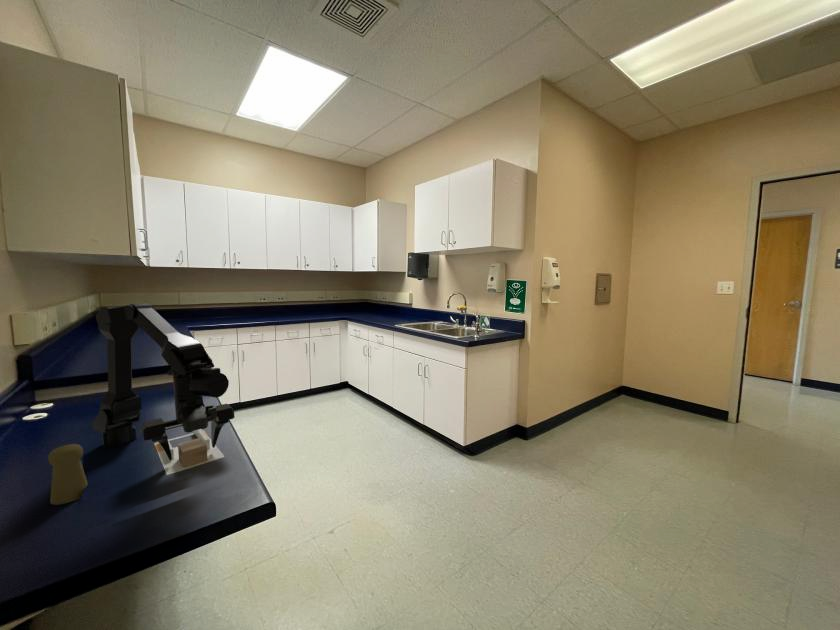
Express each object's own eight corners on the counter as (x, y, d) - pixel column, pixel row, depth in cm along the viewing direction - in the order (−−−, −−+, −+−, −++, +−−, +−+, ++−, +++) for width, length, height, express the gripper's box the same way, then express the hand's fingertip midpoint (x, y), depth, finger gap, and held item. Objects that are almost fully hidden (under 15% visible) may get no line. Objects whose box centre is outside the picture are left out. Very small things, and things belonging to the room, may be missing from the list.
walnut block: (178, 459, 87) (177, 443, 86) (201, 452, 90) (200, 437, 90) (183, 468, 82) (182, 452, 82) (207, 460, 86) (206, 445, 86)
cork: (54, 508, 70) (48, 456, 69) (46, 498, 74) (40, 449, 72) (93, 492, 75) (89, 444, 74) (84, 484, 79) (79, 438, 78)
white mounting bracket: (154, 448, 96) (153, 434, 95) (204, 435, 104) (203, 422, 103) (167, 481, 80) (166, 464, 79) (225, 462, 88) (224, 447, 88)
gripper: (144, 411, 73) (150, 481, 75) (239, 391, 86) (242, 451, 87) (138, 398, 81) (144, 462, 83) (226, 382, 94) (229, 437, 95)
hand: (192, 453), depth 87 cm, fingers open, 9 cm apart
